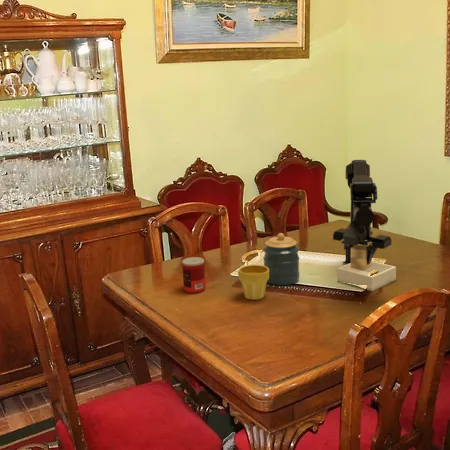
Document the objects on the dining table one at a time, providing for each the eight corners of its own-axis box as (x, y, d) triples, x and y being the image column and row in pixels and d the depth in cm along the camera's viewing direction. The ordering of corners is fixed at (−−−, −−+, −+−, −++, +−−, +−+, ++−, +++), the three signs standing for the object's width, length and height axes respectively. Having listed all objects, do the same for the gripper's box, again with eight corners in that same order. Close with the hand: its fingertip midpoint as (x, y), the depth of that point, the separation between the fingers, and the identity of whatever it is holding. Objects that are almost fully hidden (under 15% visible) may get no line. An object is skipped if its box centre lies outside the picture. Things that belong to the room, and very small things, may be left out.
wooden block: (350, 267, 195) (350, 247, 193) (357, 263, 198) (358, 244, 197) (363, 270, 192) (364, 250, 190) (371, 266, 195) (371, 246, 193)
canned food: (208, 286, 210) (207, 257, 207) (200, 294, 203) (199, 264, 200) (189, 285, 213) (187, 256, 210) (180, 293, 205) (178, 263, 203)
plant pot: (253, 288, 207) (252, 262, 204) (275, 295, 200) (275, 268, 197) (233, 297, 200) (231, 269, 197) (255, 304, 193) (254, 276, 190)
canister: (306, 278, 214) (306, 232, 210) (285, 288, 205) (284, 240, 201) (278, 271, 223) (277, 226, 218) (256, 280, 214) (255, 234, 209)
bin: (337, 281, 210) (337, 268, 209) (361, 271, 219) (361, 258, 218) (371, 291, 199) (372, 277, 198) (395, 280, 209) (396, 266, 207)
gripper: (324, 219, 191) (323, 264, 195) (376, 227, 179) (375, 275, 183) (341, 211, 199) (341, 255, 203) (393, 219, 187) (391, 265, 191)
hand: (361, 262), depth 195 cm, fingers closed on wooden block, 5 cm apart
